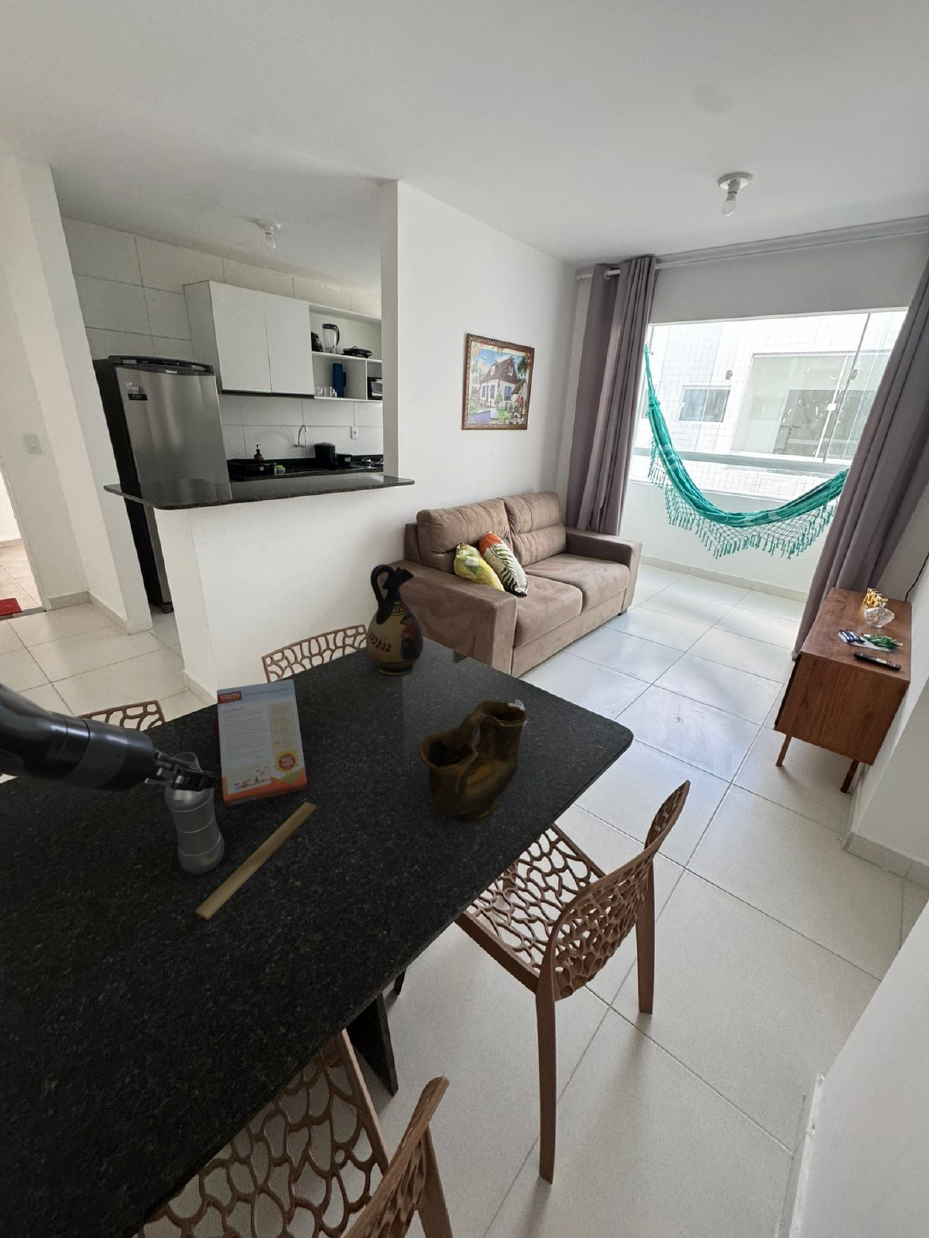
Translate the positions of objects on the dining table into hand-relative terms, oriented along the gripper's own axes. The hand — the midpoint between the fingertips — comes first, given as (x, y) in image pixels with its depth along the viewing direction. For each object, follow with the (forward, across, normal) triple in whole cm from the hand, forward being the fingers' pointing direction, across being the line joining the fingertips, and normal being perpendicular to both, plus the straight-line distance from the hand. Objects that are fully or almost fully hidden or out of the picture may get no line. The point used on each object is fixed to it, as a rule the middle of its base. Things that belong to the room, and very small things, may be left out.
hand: (197, 774), depth 76 cm
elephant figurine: (+52, -31, -28) cm, 67 cm away
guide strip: (+15, -6, +9) cm, 19 cm away
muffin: (+28, +16, -4) cm, 33 cm away
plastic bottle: (+10, 0, +13) cm, 17 cm away
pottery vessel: (+33, -32, -9) cm, 47 cm away
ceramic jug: (+59, +7, -35) cm, 69 cm away
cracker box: (+20, +1, +2) cm, 20 cm away
